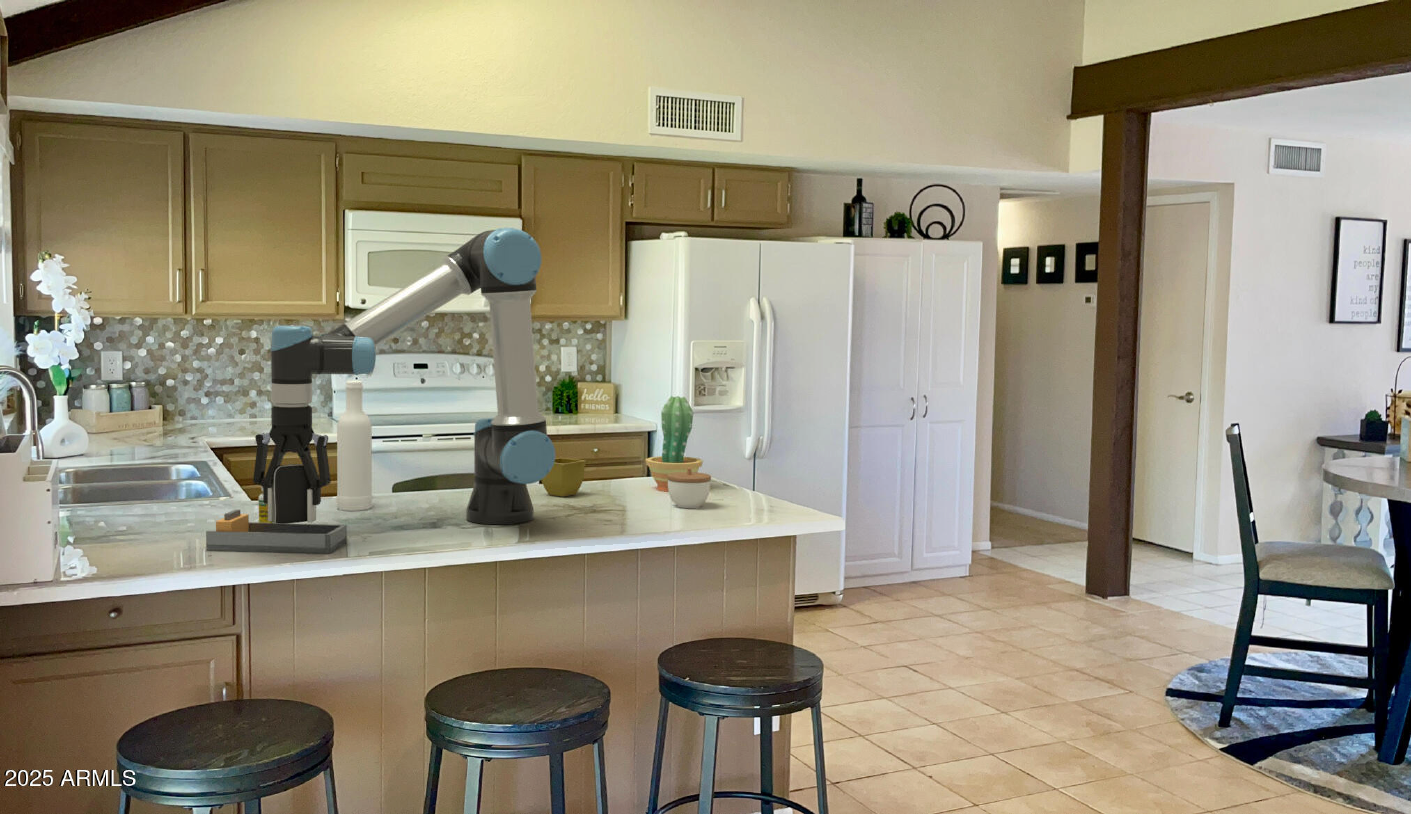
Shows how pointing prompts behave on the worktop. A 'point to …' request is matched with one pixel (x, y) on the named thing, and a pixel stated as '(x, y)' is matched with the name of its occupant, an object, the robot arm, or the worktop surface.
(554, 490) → the flower pot
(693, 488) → the lidded jar
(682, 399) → the potted cactus
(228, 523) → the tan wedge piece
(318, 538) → the tray
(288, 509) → the battery charger
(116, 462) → the worktop surface
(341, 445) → the bottle
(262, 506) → the supplement bottle
